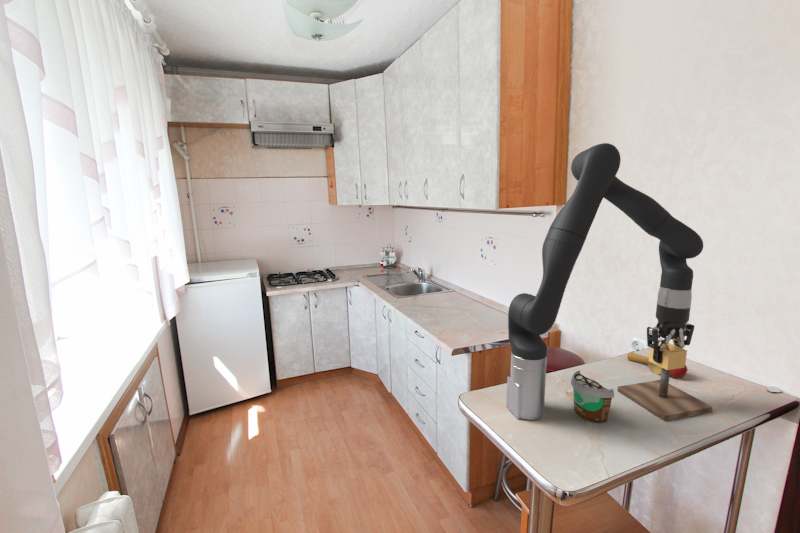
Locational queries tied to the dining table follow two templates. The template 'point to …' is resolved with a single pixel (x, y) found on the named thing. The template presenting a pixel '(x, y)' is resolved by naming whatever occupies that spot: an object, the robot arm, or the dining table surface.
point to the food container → (591, 399)
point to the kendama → (655, 368)
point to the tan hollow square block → (670, 357)
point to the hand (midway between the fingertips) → (666, 360)
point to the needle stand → (664, 398)
